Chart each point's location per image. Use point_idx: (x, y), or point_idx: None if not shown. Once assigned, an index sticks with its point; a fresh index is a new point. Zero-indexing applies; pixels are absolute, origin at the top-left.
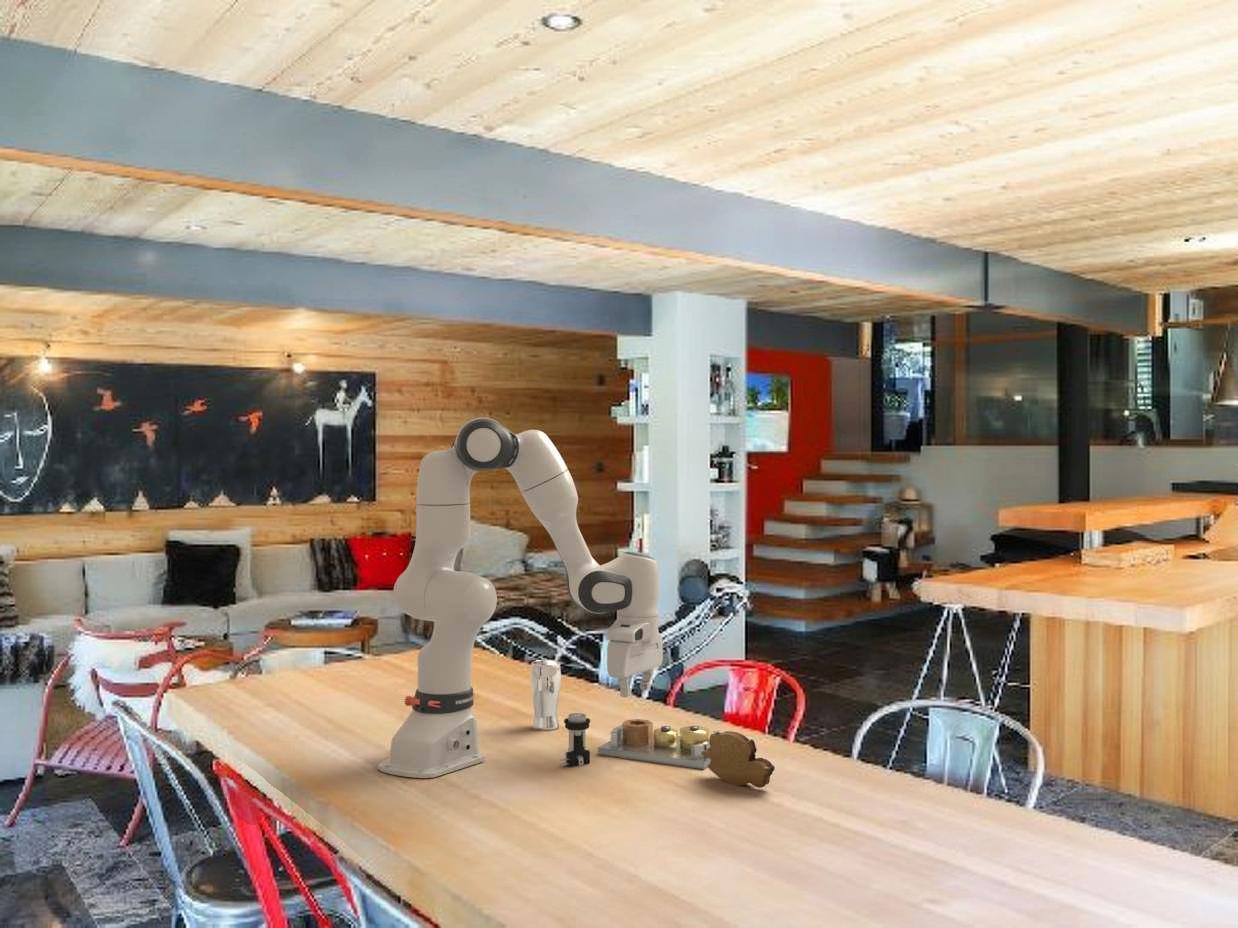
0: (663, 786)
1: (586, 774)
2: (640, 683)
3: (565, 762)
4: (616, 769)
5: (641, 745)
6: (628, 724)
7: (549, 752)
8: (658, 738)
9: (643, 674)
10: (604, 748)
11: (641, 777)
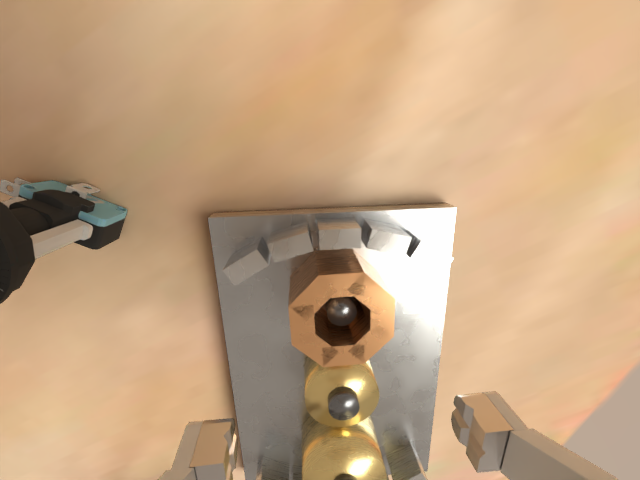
0: (86, 458)
1: (26, 281)
2: (475, 424)
3: (48, 181)
4: (122, 324)
5: None
6: (304, 305)
7: (134, 43)
8: (305, 381)
9: (563, 471)
10: (211, 240)
11: (108, 399)
